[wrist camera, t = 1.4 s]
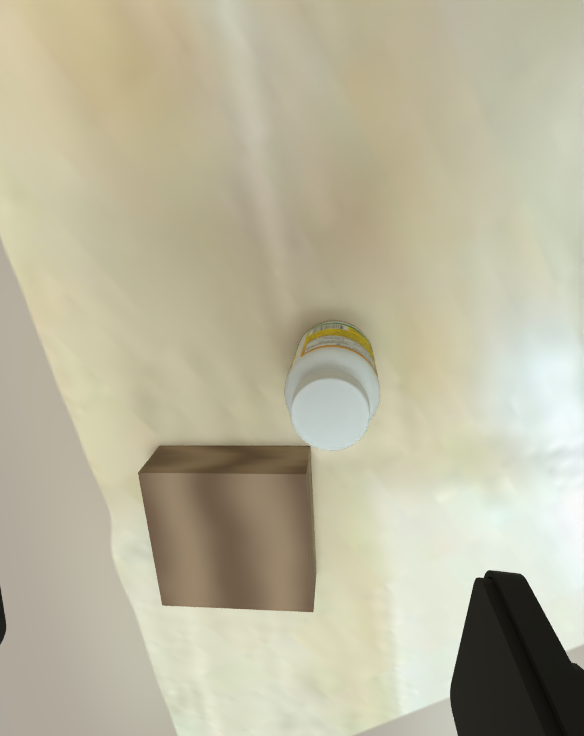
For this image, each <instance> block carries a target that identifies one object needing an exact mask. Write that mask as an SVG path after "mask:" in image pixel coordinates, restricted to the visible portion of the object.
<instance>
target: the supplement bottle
mask: <svg viewBox="0 0 584 736" xmlns="http://www.w3.org/2000/svg"><path fill="white" fill-rule="evenodd" d="M379 398H380V387H379V381H378V376H377V371H376V366H375V361H374V356H373V351H372V348H371V345H370V342H369V340H368V339H367V337H366V336H365V335H364V334H363V333H362V332H361V331H360V330H359V329H357V328H356V327H354V326H352V325H350V324H347V323H344V322H336V321H333V322H325V323H322V324H319V325H317V326H315V327H313V328H312V329H310V330H309V331H308V332H307V333H306V334H305V335H304V336H303V338H302V339H301V341H300V343H299V345H298V348H297V351H296V353H295V356H294V359H293V362H292V365H291V368H290V370H289V373H288V376H287V379H286V383H285V401H286V405H287V408H288V410H289V412H290V414H291V420H292V424H293V427H294V429H295V431H296V432H297V434H298V435H299V436H300V437H301V438H302V439H303V440H304V441H305V442H306V443H308V444H309V445H311V446H313V447H316V448H319V449H322V450H329V451H333V450H341V449H345V448H347V447H349V446H351V445H353V444H355V443H356V442H357V441H358V440H359V439H360V438H361V437H362V436H363V435H364V433H365V432H366V430H367V428H368V425H369V421H370V420H371V419H372V417H373V416H374V414H375V412H376V410H377V407H378V404H379Z"/></svg>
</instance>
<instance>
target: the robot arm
mask: <svg viewBox="0 0 584 736" xmlns="http://www.w3.org/2000/svg"><path fill="white" fill-rule="evenodd" d="M5 632H6V620H5V614H4V608H3V601H2V595H1V588H0V644H1V642H2V640H3V638H4V635H5ZM450 699H451V708H452V713H453V717H454V721H455V725H456V729H457V733H458V736H584V670H583V669H582V668H581V667H580V666H578V665H577V664H575V663H571V661H570V660H569V658H568V656H567V654H566V652H565V650H564V648H563V646H562V645H561V643H560V641H559V639H558V637H557V635H556V634H555V632H554V630H553V628H552V626H551V624H550V622H549V621H548V619H547V617H546V615H545V613H544V611H543V610H542V608H541V606H540V604H539V602H538V600H537V598H536V597H535V595H534V593H533V591H532V589H531V587H530V586H529V584H528V582H527V580H526V579H525V577H524V576H523V575H521V574H517V573H509V572H500V571H492V570H489V571H487V572H486V573H485V576H484V578H476V579H475V582H474V585H473V590H472V594H471V598H470V603H469V607H468V612H467V616H466V620H465V625H464V629H463V634H462V638H461V642H460V647H459V651H458V656H457V660H456V664H455V669H454V673H453V678H452V682H451V688H450Z"/></svg>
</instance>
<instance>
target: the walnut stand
mask: <svg viewBox="0 0 584 736" xmlns="http://www.w3.org/2000/svg"><path fill="white" fill-rule="evenodd" d="M138 475H139V480H140V486H141V491H142V497H143V502H144V508H145V513H146V519H147V524H148V530H149V535H150V540H151V546H152V551H153V557H154V562H155V568H156V573H157V579H158V584H159V590H160V595H161V601H162V605H165V606H188V607H210V608H232V609H255V610H277V611H300V612H313V610H314V597H315V583H316V557H315V536H314V515H313V494H312V473H311V452H310V446H159V447H158V449H157V450H156V451H155V452H154V454H153V455H152V456H151V457H150V459H149V460H148V461H147V462H146V464H145V465H144V466H143V467H142V469H141V470H140V471H139V472H138Z"/></svg>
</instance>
